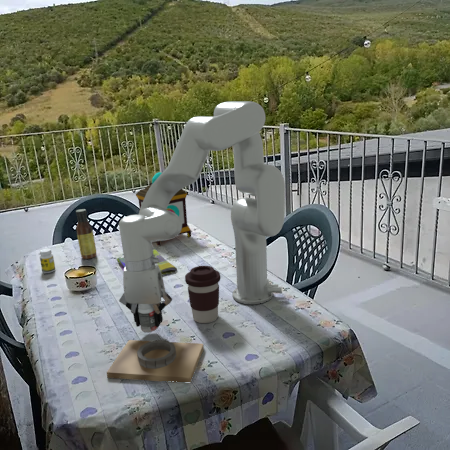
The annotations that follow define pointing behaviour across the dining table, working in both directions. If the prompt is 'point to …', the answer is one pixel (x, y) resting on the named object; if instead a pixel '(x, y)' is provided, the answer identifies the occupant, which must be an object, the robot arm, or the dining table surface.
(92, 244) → the sauce bottle
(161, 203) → the robot arm
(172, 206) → the decorative lantern
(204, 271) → the coffee cup
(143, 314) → the pill bottle
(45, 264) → the supplement bottle
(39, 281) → the dining table surface
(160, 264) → the dish towel
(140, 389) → the dining table surface
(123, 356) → the ring jig
